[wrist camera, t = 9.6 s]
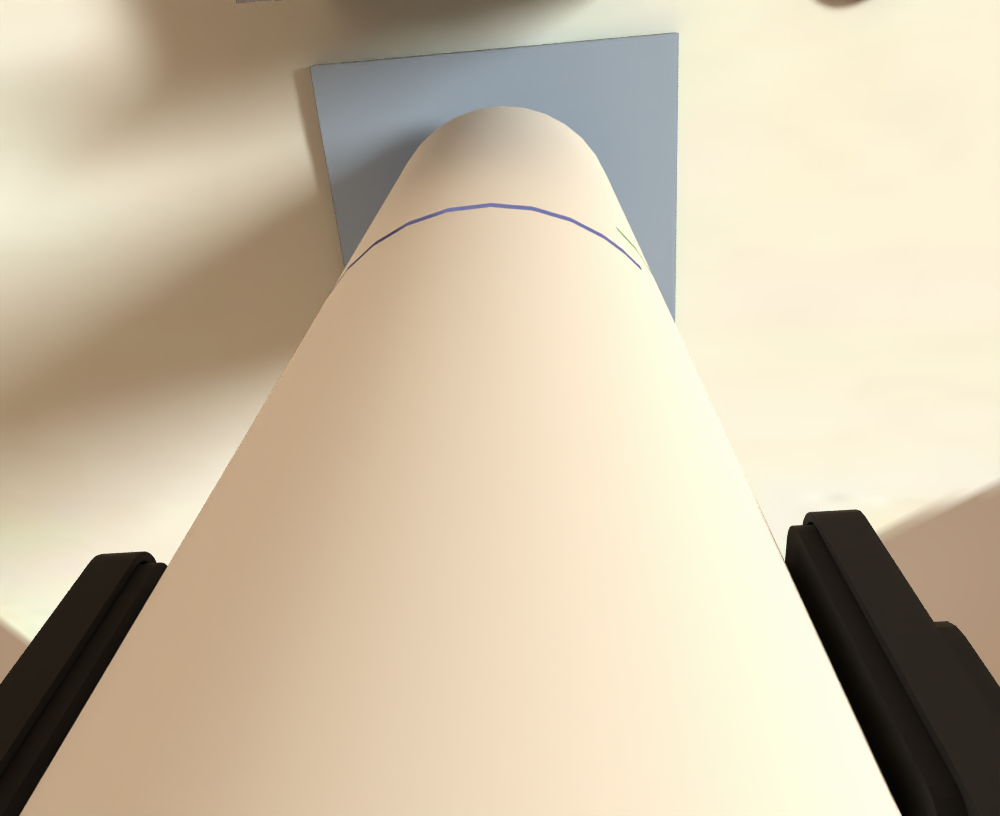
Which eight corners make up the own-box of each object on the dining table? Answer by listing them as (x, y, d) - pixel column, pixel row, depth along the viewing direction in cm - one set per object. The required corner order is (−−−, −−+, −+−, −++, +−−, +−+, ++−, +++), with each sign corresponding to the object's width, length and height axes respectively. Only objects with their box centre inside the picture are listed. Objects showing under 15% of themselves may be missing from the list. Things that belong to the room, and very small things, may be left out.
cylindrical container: (466, 58, 25) (51, 707, 3) (658, 186, 27) (1389, 1253, 4) (356, 254, 28) (-291, 1363, 6) (535, 359, 29) (596, 1541, 7)
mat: (313, 65, 28) (309, 66, 27) (675, 32, 27) (678, 33, 27) (361, 341, 32) (358, 347, 32) (672, 319, 32) (675, 324, 31)
